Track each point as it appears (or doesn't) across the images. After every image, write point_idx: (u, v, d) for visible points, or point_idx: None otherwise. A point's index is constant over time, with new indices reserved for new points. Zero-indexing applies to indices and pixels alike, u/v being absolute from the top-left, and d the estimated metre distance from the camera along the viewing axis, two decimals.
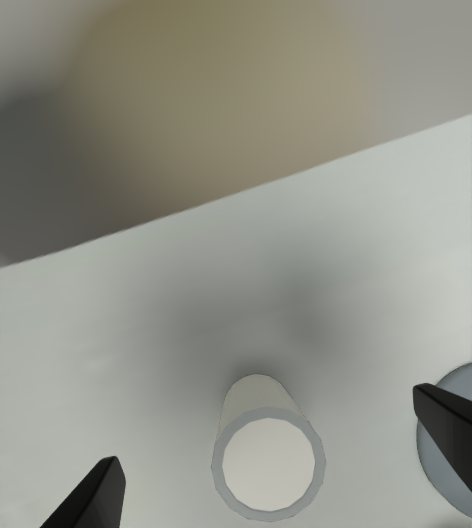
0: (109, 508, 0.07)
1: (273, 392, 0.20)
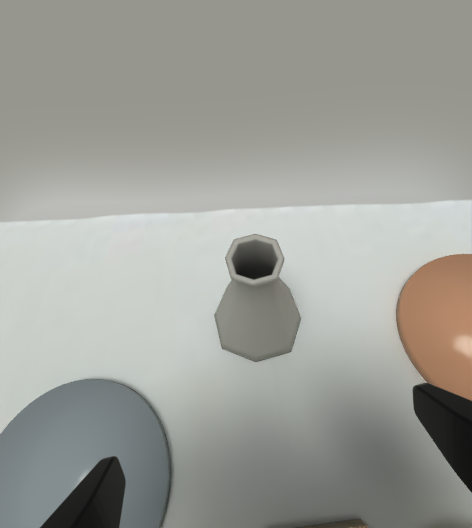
0: (109, 508, 0.07)
1: None
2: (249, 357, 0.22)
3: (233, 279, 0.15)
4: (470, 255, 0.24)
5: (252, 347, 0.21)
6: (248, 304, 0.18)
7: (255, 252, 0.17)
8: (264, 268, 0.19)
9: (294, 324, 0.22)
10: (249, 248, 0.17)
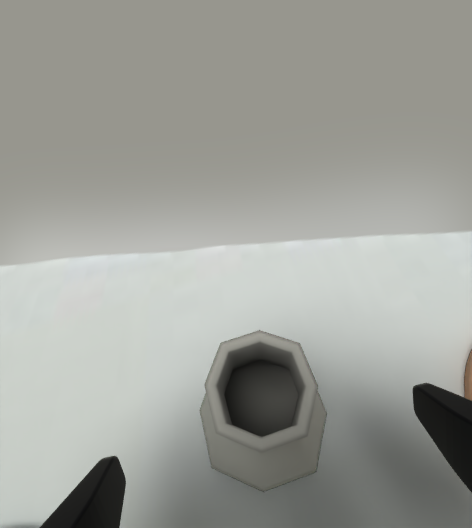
0: (109, 508, 0.07)
1: None
2: (254, 486, 0.14)
3: None
4: None
5: (258, 479, 0.13)
6: None
7: (260, 353, 0.10)
8: (273, 364, 0.12)
9: (319, 430, 0.15)
10: (249, 352, 0.09)
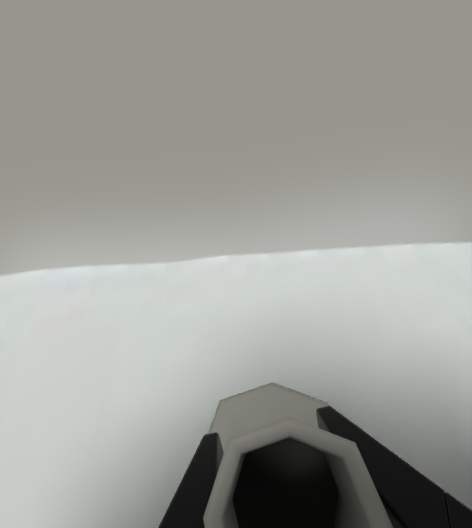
0: None
1: None
2: None
3: None
4: None
5: None
6: None
7: None
8: None
9: None
10: None
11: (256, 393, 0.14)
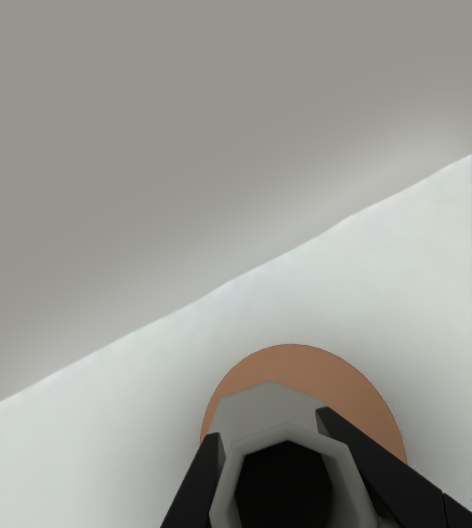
0: None
1: None
2: None
3: None
4: (256, 353, 0.22)
5: None
6: None
7: None
8: None
9: None
10: None
11: (255, 390, 0.14)
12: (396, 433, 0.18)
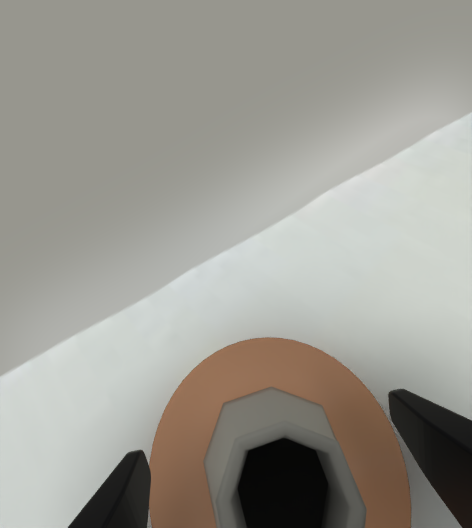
0: (138, 501, 0.07)
1: None
2: None
3: None
4: (220, 351, 0.18)
5: None
6: None
7: None
8: None
9: None
10: None
11: (256, 396, 0.15)
12: (392, 439, 0.15)
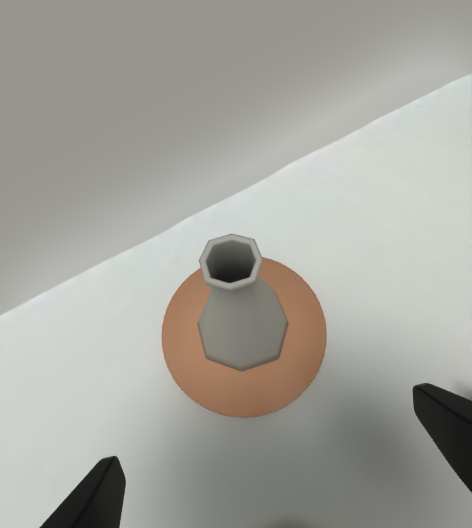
0: (109, 508, 0.07)
1: None
2: (235, 367, 0.21)
3: (207, 283, 0.14)
4: None
5: (236, 356, 0.20)
6: (228, 310, 0.16)
7: (233, 253, 0.16)
8: (245, 271, 0.18)
9: (281, 330, 0.21)
10: (226, 249, 0.16)
11: None
12: (319, 309, 0.23)
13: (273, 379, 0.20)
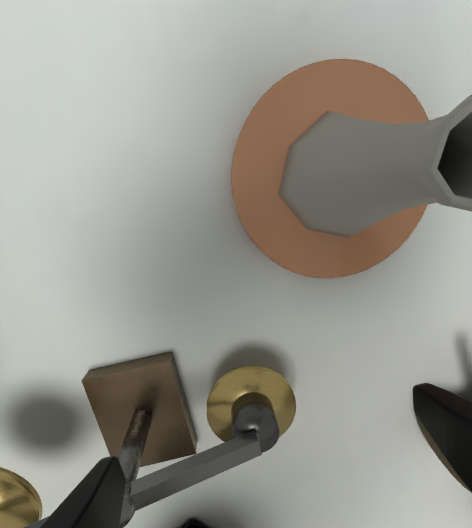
0: (109, 508, 0.07)
1: None
2: (304, 222, 0.18)
3: (425, 174, 0.08)
4: (347, 61, 0.16)
5: (319, 220, 0.16)
6: (379, 193, 0.11)
7: (468, 126, 0.09)
8: None
9: None
10: None
11: None
12: (421, 210, 0.19)
13: (330, 251, 0.19)
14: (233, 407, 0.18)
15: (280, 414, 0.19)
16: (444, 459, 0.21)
